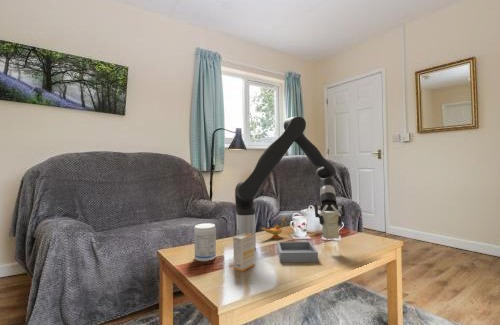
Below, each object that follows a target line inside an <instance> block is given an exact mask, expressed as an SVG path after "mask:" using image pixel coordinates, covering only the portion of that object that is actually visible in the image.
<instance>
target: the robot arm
mask: <svg viewBox="0 0 500 325" xmlns="http://www.w3.org/2000/svg"><path fill="white" fill-rule="evenodd" d="M306 123H307V122H306V119H305V118H303V117H302V116H299V115H297V116H293V117H289V118H287V119H285V121H284V123H283V130H284V131H283V132H282V134H281V135H280V136H279V137H278V138H277V139H275V140H273V142H271V143H270V144H269V145H268V147H267V148H266V149H265V150H264V151H263V152H262V154H261V155H260V157H259V158H258V159H257V162H256V164H255V167H254V169H253V171H252V172H251V173H250V175H249V176H248V177H247V178H246V179H245V180H242V181H239V182H237V184H236V186H235V190H234V199H235V200H234V202H235V210H236V232H235V233H236V236H237V235H240V234H243V233H251V234H254V250H256V249H257V248H256V246H257V243H256V242H257V241H256V240H257V237H256V208H255V204H254V198H255V196H257V193H258V191H259V190H260V188H261V187H262V186H263V184H264V182H265V180H267V178H268V177H269V176H270V174H272V172H273V170H274V169H276V167H277V166H278V164H279V163H280V162H281V161H282V159H283V158H284V156H285V155H286V154H287V153H288V152H287V151H289V149H290V147H291V146H292V145H293V144H294V143H296V145H297V146H298V147H299V148H300V149H301V151H302V152H303V154H305V156H306V158H308V161H309V162H310V163H311V165H312V166H313V167H319V168H317V169H316V171H315V176H316V178H317V180H318V183H319V190H320V191H319V194H320V195H319V198H320V205H318V204H317V203H316V204H314V216H315V218H318V220H319V224H320V226H322V225H323V216H322V211H336V212H338V226H339V227H341V226H342V223H343V221H342V220H343V219H345V216H346V209H345V205H344V204H342V205H338V203H337V202H338V201H337V195H336V190H335V183H334V180H333V179H332V177H334V176H336V173H337V171H336V167H335V166H334V165H333V164H332V163H330V161H328V160H327V159H326V158H325V157H324V156H323V154H322V153H321V151H320V150H319V149H318V147H316V145H314V144H313V143H312V142H311V140H309V139H308V138H307V137H306V136H305V135H304V131H305V130H306V127H307V124H306ZM319 210H321V211H320V213H319ZM339 211H340V212H341V213H340V212H339Z"/></svg>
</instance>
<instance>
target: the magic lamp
mask: <svg viewBox="0 0 500 325" xmlns="http://www.w3.org/2000/svg"><path fill="white" fill-rule="evenodd" d="M281 219H282V223H281V225H278V223H276V225H275V226H274V227H271V228H265V227H262V226H260V227H259V228H258V229H262V230H263V231H265V233H268V234H272V236H271V238H272V239H280V238H281V236H280V234H282V233H283V229H284V228H285V227H286V226H287V220H286V216H284V217H282V218H281ZM284 223H285V225H284Z"/></svg>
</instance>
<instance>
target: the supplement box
mask: <svg viewBox="0 0 500 325" xmlns="http://www.w3.org/2000/svg"><path fill="white" fill-rule="evenodd" d="M232 241H233V242H232V243H233V248H232V249H233V269H234V270H237V271H240V272H244V271H246V270H248V269H250V268H251V267H255V265H256V260H255V259H256V257H255V256H256V255H255V254H256V253H255V252H256V251H255V250H256V249H254V234H251V233H243V234H240V235H237V234H236V235H235V236H232Z"/></svg>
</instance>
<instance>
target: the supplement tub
mask: <svg viewBox="0 0 500 325" xmlns="http://www.w3.org/2000/svg"><path fill="white" fill-rule="evenodd" d="M193 230H194V231H193V233H194V234H193V235H194V240H193V241H194V258H195V260H196V261H199V262H210V261H212V260H214V259H215V258H217V242H216V240H217V239H216V237H217V232H216V224H214V223H210V222H209V223H208V222H207V223H199V224H195V225H194V229H193ZM209 260H210V261H209Z"/></svg>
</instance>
